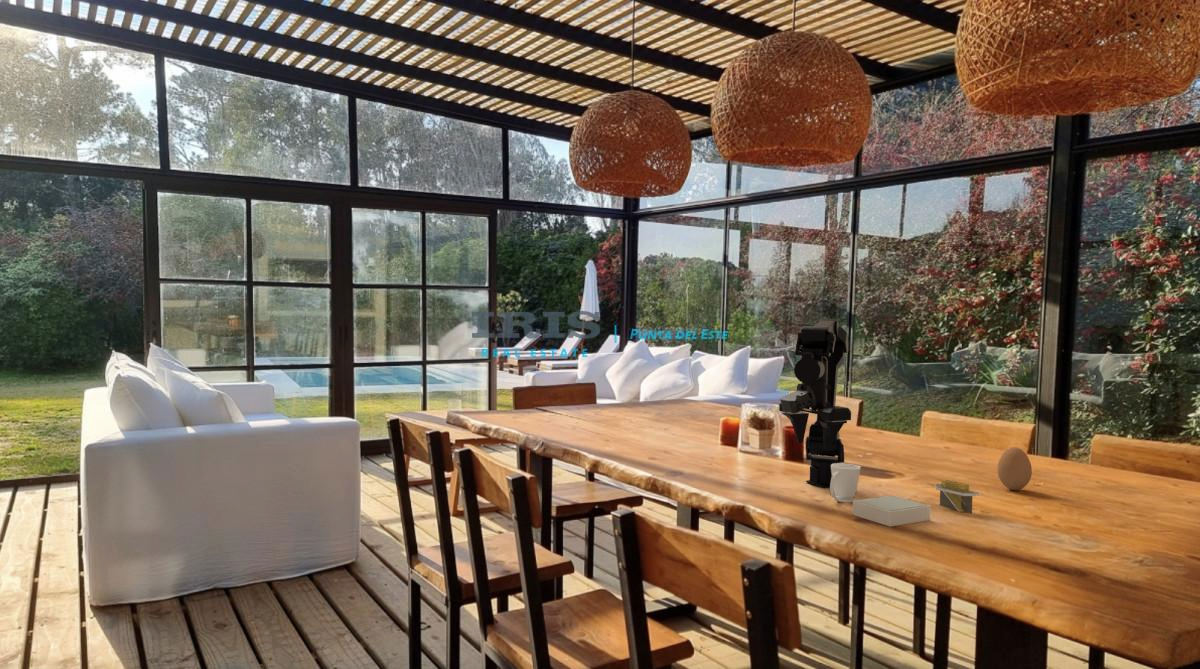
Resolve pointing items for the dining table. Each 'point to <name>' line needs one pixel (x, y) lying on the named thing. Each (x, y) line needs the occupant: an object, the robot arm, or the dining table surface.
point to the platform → (956, 496)
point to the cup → (844, 481)
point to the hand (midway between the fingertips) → (813, 446)
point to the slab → (891, 510)
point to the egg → (1014, 469)
